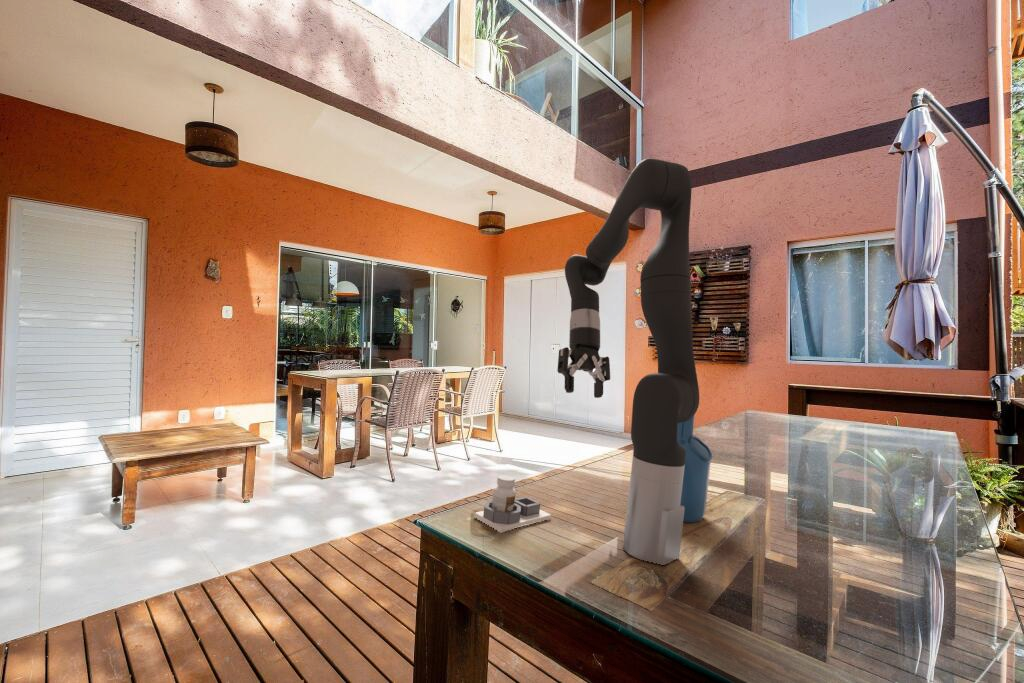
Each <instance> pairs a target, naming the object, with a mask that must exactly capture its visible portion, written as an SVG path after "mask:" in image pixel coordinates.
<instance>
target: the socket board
mask: <svg viewBox="0 0 1024 683" xmlns="http://www.w3.org/2000/svg"><path fill="white" fill-rule="evenodd" d="M492 502H493V499H492V500H488V501H485V504H484V508H483V510H480V511H477V512H474V517H475V519H476V518H477V519H476V520H478V521H479V520H480V521H479V522H481V521H482V522H481V523H483V524H484V523H485V524H484V525H486V524H487V525H486V526H488V525H489V526H488V527H490V528H491V527H492V529H493V528H494V529H493V530H495V531H496V530H497V532H498V533H500V534H502V533H505V531H506V532H508V531H507V530H510V529H513V528H515V527H518V526H521V525H524V524H528V523H533V522H539V521H543V522H545V521H544V520H547V521H550V520H551V519H552V515H551V514H550V513H549V512H547V511H544V510H542V509H541V502H539V501H538V500H535V499H533V498H531V497H529V496H521V497H515V502H514V510H513V511H512V512H501V511H495V510H494V509H492ZM513 530H514V529H513ZM510 531H511V530H510Z"/></svg>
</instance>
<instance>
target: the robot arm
mask: <svg viewBox="0 0 1024 683" xmlns="http://www.w3.org/2000/svg"><path fill="white" fill-rule="evenodd" d="M692 185H693V184H692V178H691V172H690V171H689V169H688V167H687V166H685V165H683V164H680V163H678V162H671V161H667V160H662V159H658V158H653V157H651V158H649V157H647V158H644V159H642V160H641V161H639V162H638V163H637V165H636V166H635V167H634V168H633V170H632V171H631V172H630V174H629V176H628V178H627V180H626V181H625V183H624V185H623V186H622V189H621V191H620V193H619V194H618V197H617V198H616V201H615V203H614V204H613V207H612V208H611V210H610V213H609V215H608V216H607V219H606V220H605V222H604V223H603V225H602V226H601V228H600V229H599V231H598V232H596V234H595V235H594V237H593V238H592V239H591V241H590V242H589V243H588V245H587V246H586V248H585V249H586V250H585V255H581V254H573V255H571V256H569V258H568V259H567V261H566V262H565V266H564V276H565V280H566V283H567V284H566V285H567V286H568V291H569V295H570V319H569V341H568V342H569V344H568V346H569V347H563V348H560V349H559V350H558V358H557V359H558V360H557V374H561V375H563V376H564V390H565V393H566V394H571V393H574V392H575V376H574V375H575V373H576V372H577V371H583V372H586V373H588V374H589V376H591V377H592V379H593V381H594V383H593V396H594V398H595V399H600V398H602V397H603V395H604V382H607V381H610V380H611V366H610V365H611V364H610V358H609V356H600V354H599V350H600V349H601V318H600V295H599V293H598V292H597V291H596V290H594V289H592V288H590V287H589V286H591V287H592V286H594V287H595V286H598V285H600V284H602V282H604V280H605V278H606V275H607V273H608V270H609V269H610V266H611V264H612V262H613V261H614V260H615V258H616V257H617V256H618V255H619V254H620V253H621V252H622V251H623V249H624V248H625V246H626V245H627V243H628V241H629V240H628V239H629V236H630V226H629V224H630V223H629V222H630V219H631V217H632V215H633V214H634V213H635V212H636V211H637V210H638V209H639V208H644V209H649V210H655V211H659V212H660V218H661V222H660V223H661V224H660V233H659V234H660V235H659V238H658V240H657V242H656V244H655V246H654V248H653V249H652V251H651V252H650V254H649V255H648V257H647V259H646V261H645V263H644V265H643V266H642V270H641V272H640V304H641V309H642V313H643V316H644V319H645V322H646V324H647V326H648V329H649V332H650V334H651V336H652V339H653V342H654V344H655V348H656V355H657V372H654V373H649V374H648V373H647V374H646V375H644V376H643V377H642V378H641V379H640V380H639V382H638V383H637V385H636V387H635V390H634V394H633V399H632V408H631V409H632V410H631V411H632V412H631V427H630V438H631V442H632V446H633V451H632V461H631V471H630V476H629V477H630V479H629V486H628V487H629V488H628V494H627V504H626V505H627V506H626V514H625V524H624V533H623V540H622V541H623V543H622V548H623V549H624V551H625V552H626V553H627V554H628V555H630V556H632V557H634V558H636V559H639V560H641V561H643V560H644V561H643V562H647V561H649V562H648V563H651V562H653V563H652V564H656V563H657V564H656V565H659V564H661V565H665V564H667V563H669V562H671V561H673V560H675V561H677V560H678V558H679V559H680V557H681V556H680V554H681V547H682V539H683V538H682V536H683V528H684V527H683V526H684V522H683V520H684V511H685V508H684V506H682V505H680V504H681V494H682V485H683V477H684V468H685V460H686V451H685V449H684V447H682V446H681V445H680V444H679V443H678V440H677V427H678V423H683V422H686V421H688V420H690V419H691V418H692V417H693V416H694V417H695V415H696V413H697V411H698V408H699V405H700V388H699V382H698V375H697V369H696V363H695V355H694V347H693V345H694V344H693V320H692V318H693V317H692V281H691V270H690V219H691V204H692V188H693V187H692ZM587 285H589V286H587ZM569 359H570V361H571V362H570V363H569ZM676 559H677V560H676ZM673 562H674V561H673ZM671 563H672V562H671ZM669 564H670V563H669ZM661 565H660V566H661ZM667 565H668V564H667ZM665 566H666V565H665Z"/></svg>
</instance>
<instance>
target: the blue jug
mask: <svg viewBox="0 0 1024 683" xmlns="http://www.w3.org/2000/svg"><path fill="white" fill-rule="evenodd" d="M694 426H695V415H694V416H693V417H692V418H691V419H690V420H688V421H686V422H683V423H678V427H677V440H678V443H679V444H680V445H681V446H682V447H684V449H685V451H686V460H685V468H684V477H683V485H682V494H681V504H680V505H682V506H684V508H685V511H684V520H683V521H684V522H683V523H695V522H696V523H697V522H698V523H699V522H701V520H702V519H703V518H704V516H705V515H706V509H707V508H706V507H707V500H708V499H707V498H708V490H709V480H710V472H711V463H712V462H711V461H712V459H713V453H712V452H711V450H710V449H711V448H710V447H709V446H708V445H707V444H706V443H704V442H703V441H702V440H701V439H700V438H699V437H697V436H696V435H695V436H694V430H695V429H694Z"/></svg>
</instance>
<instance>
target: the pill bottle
mask: <svg viewBox="0 0 1024 683" xmlns="http://www.w3.org/2000/svg"><path fill="white" fill-rule="evenodd" d="M515 480H516V478H515V477H514V476H512V475H507V474H500V475H498V476H497V480H496V481H497V482H496V483H497V484H496V485H497V486H495V487H494V489H493V494H492V500H493V502H492V509H494V510H495V511H501V512H512V511H513V510H514V502H515V499H516V489H515V488H514V487H515Z"/></svg>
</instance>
